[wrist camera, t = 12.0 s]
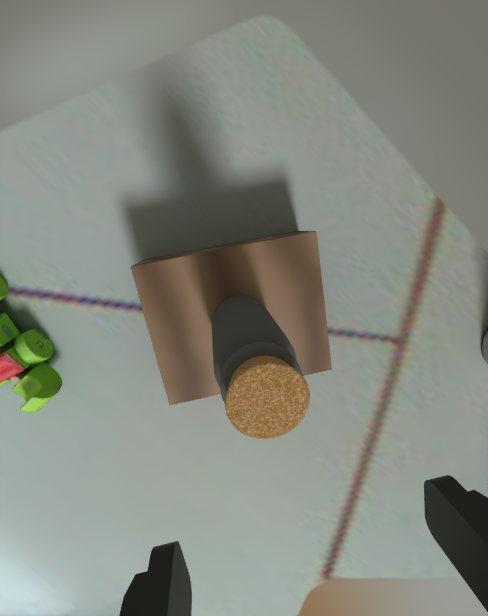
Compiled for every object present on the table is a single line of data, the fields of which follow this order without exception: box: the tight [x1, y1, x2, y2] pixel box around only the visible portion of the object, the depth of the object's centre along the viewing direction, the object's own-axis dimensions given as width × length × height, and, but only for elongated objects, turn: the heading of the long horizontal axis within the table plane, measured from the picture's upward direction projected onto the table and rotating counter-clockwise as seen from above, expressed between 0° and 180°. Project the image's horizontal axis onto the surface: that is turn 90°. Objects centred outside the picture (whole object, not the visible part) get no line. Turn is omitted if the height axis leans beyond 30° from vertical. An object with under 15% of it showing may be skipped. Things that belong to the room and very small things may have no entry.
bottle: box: [212, 295, 310, 439], centre depth 24 cm, size 6×6×15 cm
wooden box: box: [131, 231, 332, 405], centre depth 34 cm, size 18×15×6 cm
